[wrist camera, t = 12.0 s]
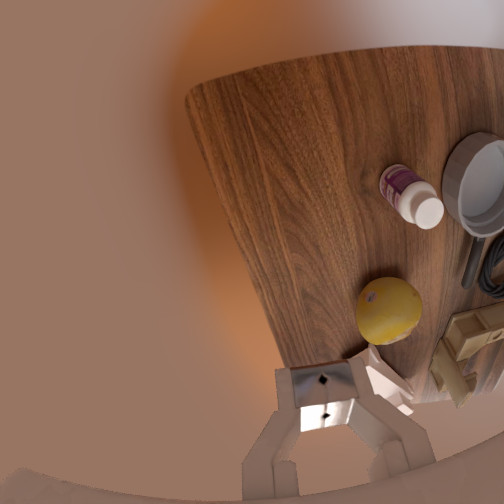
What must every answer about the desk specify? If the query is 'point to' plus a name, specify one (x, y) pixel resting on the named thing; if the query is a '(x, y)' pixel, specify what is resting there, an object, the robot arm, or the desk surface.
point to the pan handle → (473, 262)
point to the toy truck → (387, 380)
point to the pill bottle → (411, 196)
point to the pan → (476, 184)
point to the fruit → (387, 310)
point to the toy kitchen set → (464, 349)
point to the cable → (498, 252)
